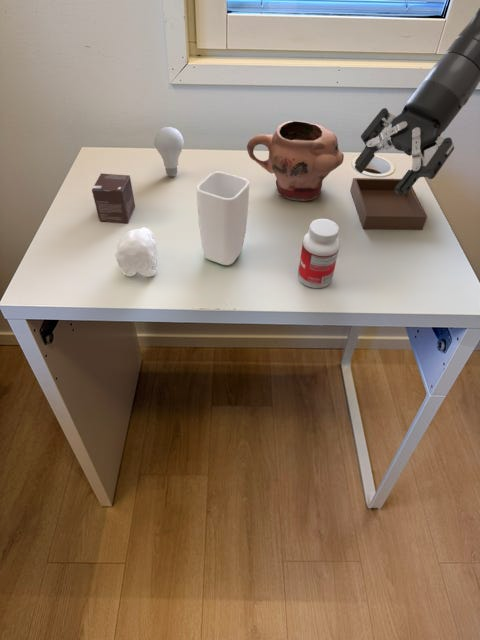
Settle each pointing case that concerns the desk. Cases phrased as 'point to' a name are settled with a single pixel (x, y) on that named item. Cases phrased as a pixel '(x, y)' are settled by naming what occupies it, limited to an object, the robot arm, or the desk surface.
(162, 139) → the lightbulb
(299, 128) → the pink face mug
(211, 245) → the cup
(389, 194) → the tray
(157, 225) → the desk surface
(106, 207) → the box
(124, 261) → the white lumpy curved piece
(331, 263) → the pill bottle
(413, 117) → the robot arm
